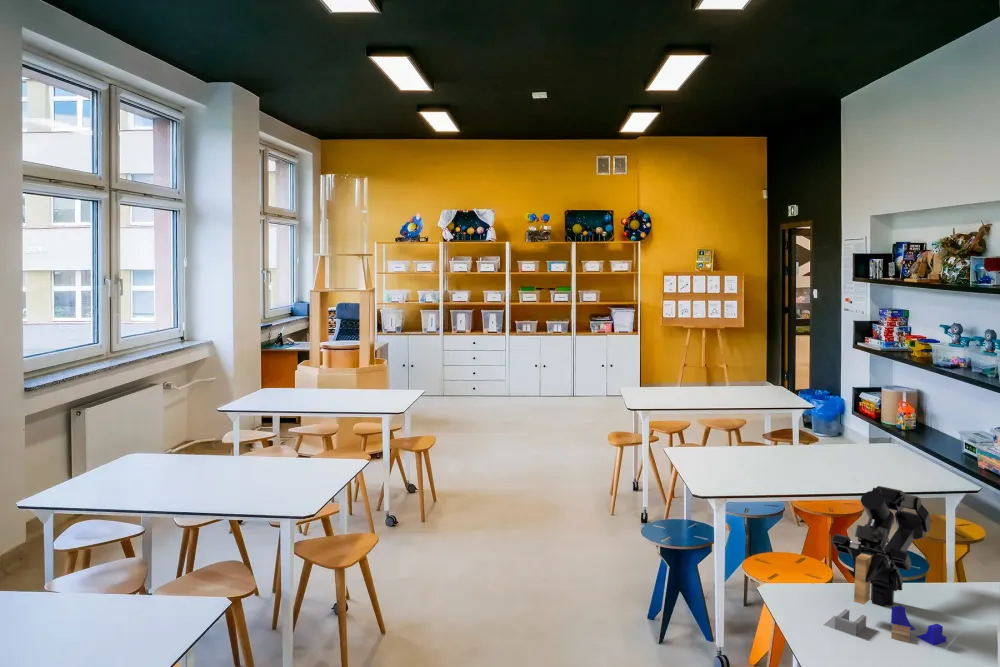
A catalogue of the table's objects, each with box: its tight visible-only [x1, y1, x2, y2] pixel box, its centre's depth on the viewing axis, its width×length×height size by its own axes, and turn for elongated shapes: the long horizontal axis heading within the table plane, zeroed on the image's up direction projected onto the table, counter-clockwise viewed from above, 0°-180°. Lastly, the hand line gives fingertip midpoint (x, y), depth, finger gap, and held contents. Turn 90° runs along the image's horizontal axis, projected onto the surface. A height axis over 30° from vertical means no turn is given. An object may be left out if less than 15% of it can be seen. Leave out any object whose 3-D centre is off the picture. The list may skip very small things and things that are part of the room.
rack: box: [823, 608, 879, 641], centre depth 187 cm, size 7×11×4 cm, turn 43°
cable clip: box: [890, 605, 947, 646], centre depth 185 cm, size 12×4×6 cm, turn 21°
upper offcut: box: [890, 623, 911, 643], centre depth 183 cm, size 5×4×2 cm
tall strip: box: [853, 553, 872, 605], centre depth 191 cm, size 4×2×12 cm, turn 133°
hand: (860, 580), depth 190 cm, fingers closed on tall strip, 2 cm apart
